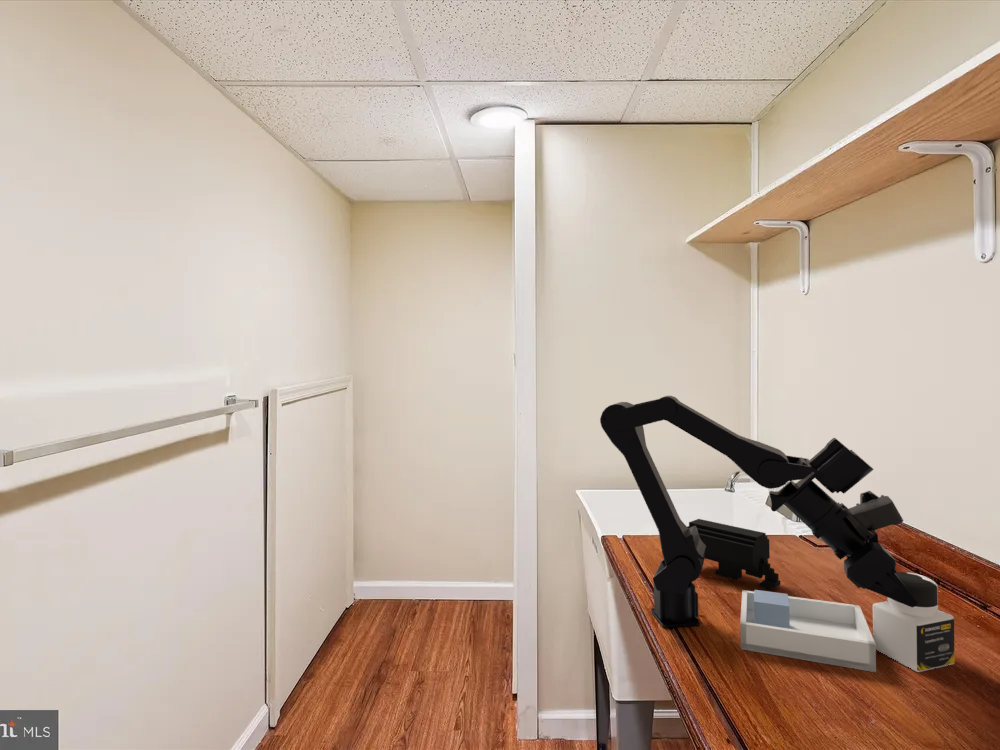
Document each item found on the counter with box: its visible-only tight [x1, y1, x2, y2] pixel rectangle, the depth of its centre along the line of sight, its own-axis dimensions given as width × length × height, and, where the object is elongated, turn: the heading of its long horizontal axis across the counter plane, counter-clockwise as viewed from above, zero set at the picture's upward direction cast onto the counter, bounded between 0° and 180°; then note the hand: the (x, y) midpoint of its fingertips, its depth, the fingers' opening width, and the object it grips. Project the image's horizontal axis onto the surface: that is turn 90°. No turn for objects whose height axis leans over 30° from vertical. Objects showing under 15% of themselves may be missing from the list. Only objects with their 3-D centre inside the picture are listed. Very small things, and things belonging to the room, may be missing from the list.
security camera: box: [686, 518, 781, 591], centre depth 115 cm, size 7×18×10 cm, turn 40°
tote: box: [739, 589, 877, 673], centre depth 89 cm, size 18×14×4 cm
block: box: [753, 589, 790, 629], centre depth 91 cm, size 5×5×5 cm
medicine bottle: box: [872, 571, 956, 673], centre depth 83 cm, size 7×7×12 cm
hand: (907, 592), depth 83 cm, fingers open, 9 cm apart
